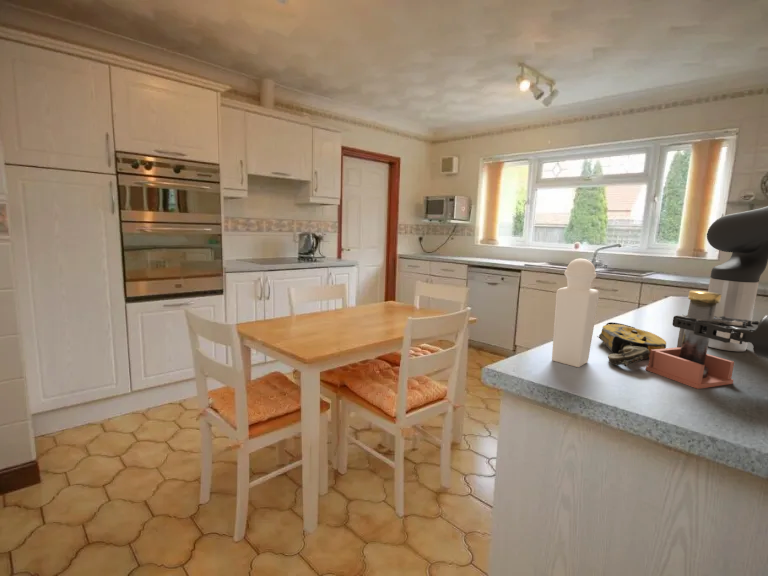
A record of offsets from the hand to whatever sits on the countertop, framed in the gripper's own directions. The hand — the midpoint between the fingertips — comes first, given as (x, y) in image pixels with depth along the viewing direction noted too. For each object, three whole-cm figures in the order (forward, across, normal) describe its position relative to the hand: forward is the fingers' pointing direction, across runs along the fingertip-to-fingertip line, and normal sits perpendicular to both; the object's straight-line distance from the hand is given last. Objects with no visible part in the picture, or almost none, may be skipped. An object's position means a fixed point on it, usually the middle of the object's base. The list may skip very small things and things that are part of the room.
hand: (681, 319), depth 80 cm
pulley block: (+11, -4, +11) cm, 16 cm away
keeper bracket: (-3, 0, +11) cm, 11 cm away
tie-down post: (-3, 0, +10) cm, 10 cm away
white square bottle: (+13, +14, +11) cm, 23 cm away
